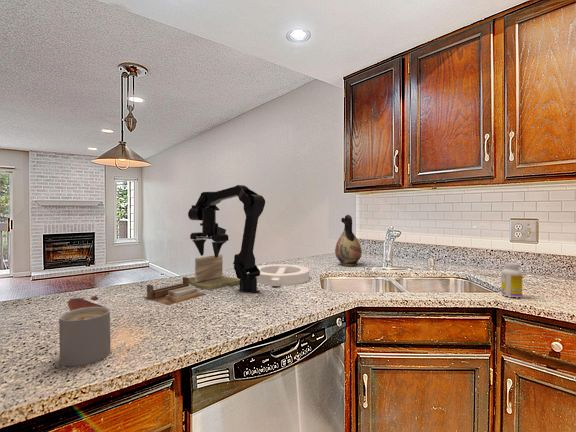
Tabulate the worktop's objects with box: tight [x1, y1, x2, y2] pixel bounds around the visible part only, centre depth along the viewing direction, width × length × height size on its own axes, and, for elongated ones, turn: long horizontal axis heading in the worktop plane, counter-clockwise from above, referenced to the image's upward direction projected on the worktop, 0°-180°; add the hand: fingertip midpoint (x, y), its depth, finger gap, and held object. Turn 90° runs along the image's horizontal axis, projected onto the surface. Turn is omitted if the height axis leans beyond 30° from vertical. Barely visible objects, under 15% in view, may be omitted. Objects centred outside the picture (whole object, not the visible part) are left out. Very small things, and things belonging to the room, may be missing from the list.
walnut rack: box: [142, 276, 207, 306], centre depth 122 cm, size 16×17×6 cm
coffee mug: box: [58, 306, 111, 367], centre depth 77 cm, size 13×10×10 cm
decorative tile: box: [188, 275, 240, 291], centre depth 143 cm, size 19×20×4 cm
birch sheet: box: [194, 254, 224, 282], centre depth 143 cm, size 1×14×10 cm, turn 143°
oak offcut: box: [166, 291, 200, 303], centre depth 120 cm, size 6×10×2 cm, turn 145°
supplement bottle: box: [500, 262, 523, 298], centre depth 126 cm, size 7×7×13 cm
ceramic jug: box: [334, 214, 363, 267], centre depth 192 cm, size 17×15×30 cm
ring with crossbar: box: [256, 263, 310, 287], centre depth 157 cm, size 28×28×5 cm
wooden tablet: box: [68, 294, 104, 311], centre depth 112 cm, size 27×10×2 cm, turn 37°
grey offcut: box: [168, 285, 198, 297], centre depth 120 cm, size 5×9×2 cm, turn 145°
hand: (209, 256), depth 142 cm, fingers open, 9 cm apart
